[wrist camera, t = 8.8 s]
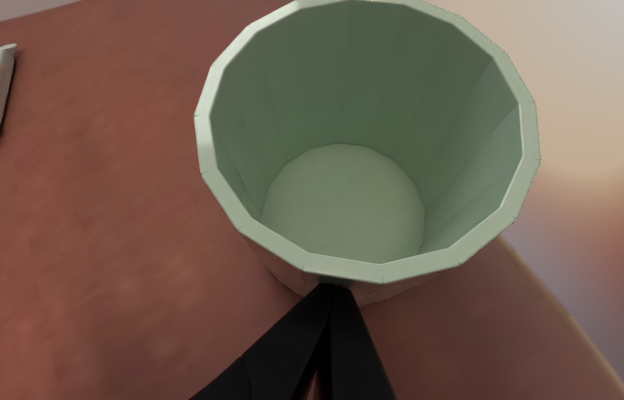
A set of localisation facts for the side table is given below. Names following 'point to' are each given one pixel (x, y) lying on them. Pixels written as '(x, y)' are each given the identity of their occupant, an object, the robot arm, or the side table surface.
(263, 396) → the robot arm
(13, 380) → the side table surface
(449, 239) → the cup
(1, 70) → the granola bar
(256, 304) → the side table surface
